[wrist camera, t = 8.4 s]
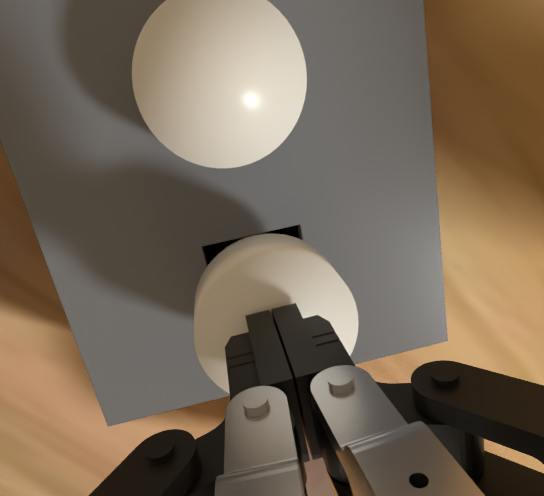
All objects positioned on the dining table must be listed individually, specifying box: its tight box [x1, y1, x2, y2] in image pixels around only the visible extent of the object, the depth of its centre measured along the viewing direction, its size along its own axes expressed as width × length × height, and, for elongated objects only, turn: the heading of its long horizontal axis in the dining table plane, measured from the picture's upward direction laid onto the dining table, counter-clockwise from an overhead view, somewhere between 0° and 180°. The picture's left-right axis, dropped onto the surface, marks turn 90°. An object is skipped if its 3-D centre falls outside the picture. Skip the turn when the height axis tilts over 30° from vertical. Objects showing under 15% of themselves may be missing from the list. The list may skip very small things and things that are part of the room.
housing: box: [0, 0, 448, 426], centre depth 18 cm, size 14×23×6 cm, turn 11°
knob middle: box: [132, 0, 307, 168], centre depth 16 cm, size 5×5×8 cm
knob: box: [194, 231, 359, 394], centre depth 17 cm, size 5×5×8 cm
